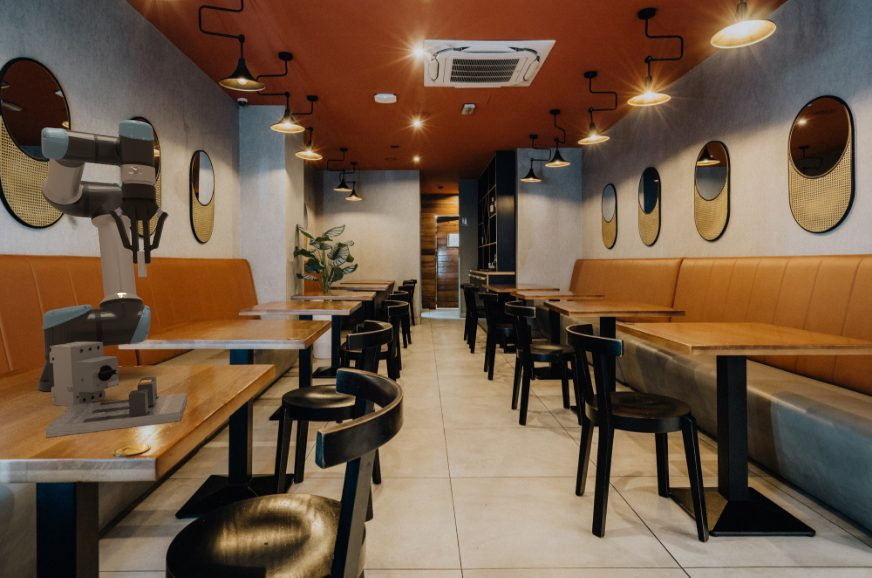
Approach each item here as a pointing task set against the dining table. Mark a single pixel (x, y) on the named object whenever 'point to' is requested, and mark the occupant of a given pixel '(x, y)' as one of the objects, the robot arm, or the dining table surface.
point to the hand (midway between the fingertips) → (142, 276)
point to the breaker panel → (119, 413)
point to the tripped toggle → (151, 390)
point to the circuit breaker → (82, 373)
